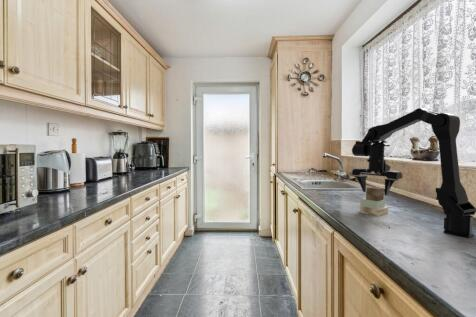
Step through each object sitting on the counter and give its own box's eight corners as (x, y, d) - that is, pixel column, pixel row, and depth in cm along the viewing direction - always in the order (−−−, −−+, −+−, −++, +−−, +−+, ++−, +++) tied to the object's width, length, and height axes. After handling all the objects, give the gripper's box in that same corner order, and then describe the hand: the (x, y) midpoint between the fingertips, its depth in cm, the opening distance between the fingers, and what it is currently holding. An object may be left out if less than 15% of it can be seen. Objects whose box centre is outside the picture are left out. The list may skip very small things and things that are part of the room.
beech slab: (387, 214, 114) (388, 207, 114) (378, 216, 110) (378, 209, 110) (369, 210, 121) (369, 203, 121) (359, 212, 116) (359, 205, 116)
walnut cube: (383, 199, 115) (383, 188, 114) (377, 201, 112) (378, 189, 111) (371, 198, 119) (372, 186, 118) (365, 199, 116) (366, 187, 115)
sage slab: (384, 207, 115) (385, 200, 115) (376, 209, 110) (377, 201, 110) (368, 204, 120) (368, 197, 120) (360, 205, 116) (360, 199, 116)
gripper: (408, 157, 112) (407, 195, 113) (364, 156, 127) (363, 189, 128) (396, 158, 105) (395, 197, 106) (351, 156, 120) (350, 191, 121)
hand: (375, 193), depth 115 cm, fingers open, 9 cm apart
